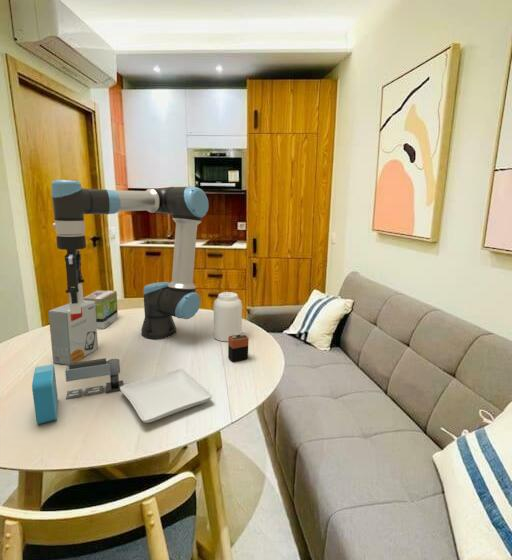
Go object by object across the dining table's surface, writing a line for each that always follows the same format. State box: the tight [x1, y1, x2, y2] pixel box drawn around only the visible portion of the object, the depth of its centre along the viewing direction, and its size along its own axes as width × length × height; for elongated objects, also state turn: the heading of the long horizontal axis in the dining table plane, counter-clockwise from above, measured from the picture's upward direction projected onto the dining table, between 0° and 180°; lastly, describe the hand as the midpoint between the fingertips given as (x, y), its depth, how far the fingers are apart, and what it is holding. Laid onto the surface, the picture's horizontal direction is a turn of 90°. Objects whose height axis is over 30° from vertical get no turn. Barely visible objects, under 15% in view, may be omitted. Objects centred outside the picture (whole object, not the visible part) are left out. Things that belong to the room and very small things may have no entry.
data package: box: [31, 363, 59, 425], centre depth 92 cm, size 12×4×12 cm, turn 29°
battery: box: [227, 332, 250, 363], centre depth 128 cm, size 4×7×10 cm, turn 118°
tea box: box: [83, 289, 119, 330], centre depth 159 cm, size 15×10×15 cm
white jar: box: [212, 291, 243, 342], centre depth 147 cm, size 12×12×20 cm
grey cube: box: [105, 374, 124, 394], centre depth 106 cm, size 5×5×5 cm
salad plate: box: [120, 368, 213, 423], centre depth 101 cm, size 21×21×3 cm
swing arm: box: [64, 358, 121, 382], centre depth 102 cm, size 15×4×5 cm, turn 113°
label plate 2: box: [84, 385, 104, 397], centre depth 104 cm, size 5×4×1 cm
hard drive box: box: [48, 300, 99, 366], centre depth 125 cm, size 16×8×20 cm, turn 168°
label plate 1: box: [65, 388, 83, 400], centre depth 102 cm, size 4×4×1 cm
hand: (77, 307), depth 102 cm, fingers open, 10 cm apart
